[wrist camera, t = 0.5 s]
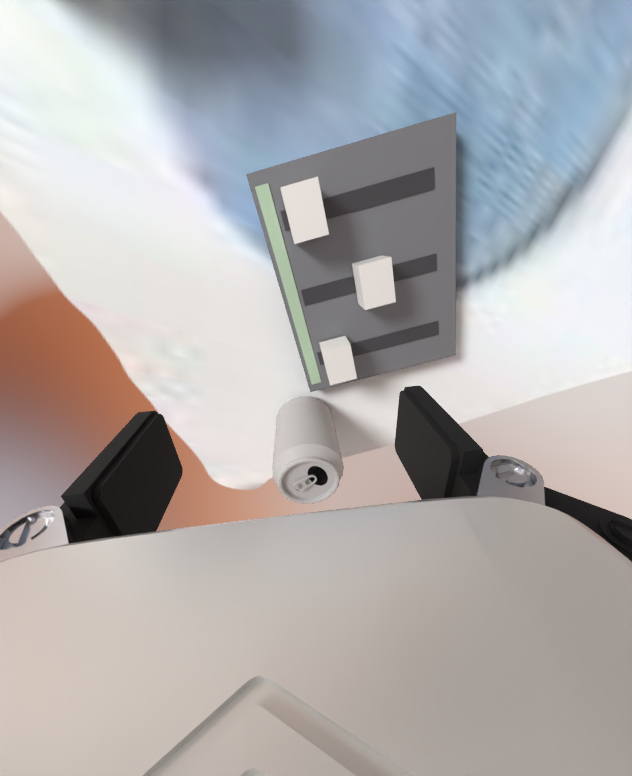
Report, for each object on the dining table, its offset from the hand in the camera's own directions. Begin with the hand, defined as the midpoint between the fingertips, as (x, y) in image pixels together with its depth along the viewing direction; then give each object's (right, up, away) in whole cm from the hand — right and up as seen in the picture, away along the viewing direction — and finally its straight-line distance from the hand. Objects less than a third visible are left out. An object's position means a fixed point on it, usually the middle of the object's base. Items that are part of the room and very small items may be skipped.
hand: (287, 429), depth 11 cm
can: (-1, -2, +27) cm, 27 cm away
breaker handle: (+7, +13, +17) cm, 22 cm away
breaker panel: (+6, +14, +19) cm, 24 cm away
